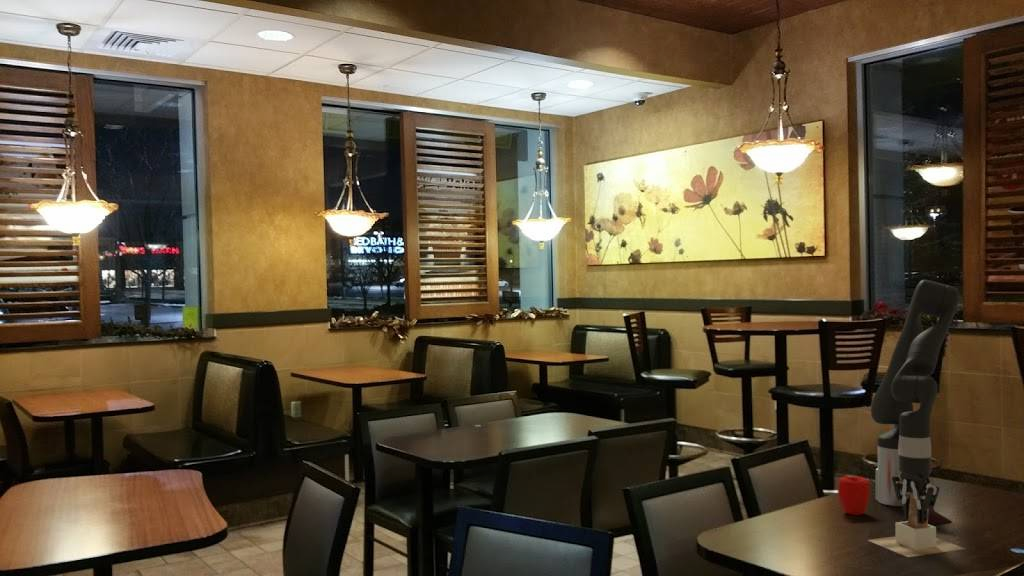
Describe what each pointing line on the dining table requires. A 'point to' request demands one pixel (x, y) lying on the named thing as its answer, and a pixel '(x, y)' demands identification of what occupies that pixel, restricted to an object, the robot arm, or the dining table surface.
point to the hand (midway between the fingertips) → (915, 520)
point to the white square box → (915, 536)
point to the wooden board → (909, 552)
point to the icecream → (934, 518)
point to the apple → (854, 494)
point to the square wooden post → (915, 514)
